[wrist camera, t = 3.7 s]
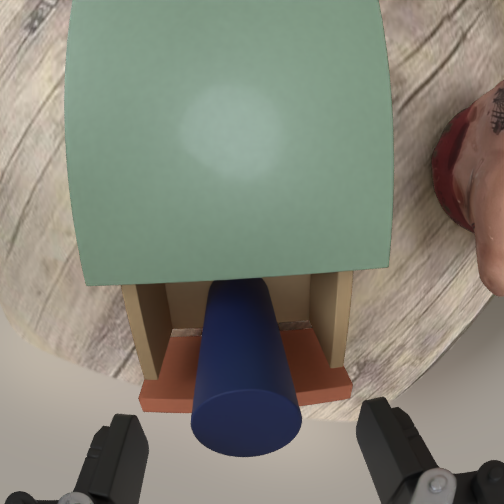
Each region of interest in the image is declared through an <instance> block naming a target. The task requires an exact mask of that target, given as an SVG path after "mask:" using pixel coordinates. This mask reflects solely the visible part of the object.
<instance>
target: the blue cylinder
mask: <svg viewBox="0 0 504 504" xmlns="http://www.w3.org/2000/svg"><path fill="white" fill-rule="evenodd" d="M301 423H302V415H301V411H300V407H299V404H298V400H297V396H296V392H295V388H294V384H293V381H292V377H291V373H290V369H289V365H288V361H287V358H286V354H285V350H284V346H283V342H282V339H281V335H280V331H279V327H278V323H277V320H276V316H275V312H274V308H273V304H272V301H271V297H270V293H269V289H268V287H267V285H266V283H265V281H264V280H263V279H262V278H246V279H230V280H214V281H213V282H212V284H211V286H210V288H209V292H208V297H207V304H206V311H205V317H204V324H203V331H202V338H201V345H200V352H199V360H198V367H197V375H196V382H195V390H194V398H193V407H192V415H191V428H192V431H193V434H194V435H195V437H196V438H197V439H198V441H199V442H200V443H202V444H203V445H204V446H206V447H207V448H209V449H211V450H213V451H215V452H218V453H221V454H224V455H228V456H235V457H253V456H260V455H264V454H268V453H271V452H274V451H276V450H278V449H280V448H282V447H284V446H285V445H287V444H288V443H290V442H291V441H292V440H293V439H294V438H295V436H296V435H297V434H298V432H299V430H300V428H301Z"/></svg>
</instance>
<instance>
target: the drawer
mask: <svg viewBox="0 0 504 504" xmlns="http://www.w3.org/2000/svg"><path fill="white" fill-rule="evenodd" d="M262 279H263V280H264V281H265V283H266V285H267V287H268V289H269V293H270V297H271V301H272V304H273V308H274V312H275V316H276V320H277V323H285V322H296V321H306V320H309V321H310V323H311V326H312V328H307V329H298V330H287V331H280V335H281V339H282V342H283V346H284V350H285V354H286V358H287V361H288V365H289V369H290V373H291V377H292V381H293V384H294V388H295V392H296V396H297V400H298V404H299V406H304V405H312V404H319V403H325V402H332V401H338V400H343V399H349V398H350V396H351V391H352V386H353V384H352V382H351V380H350V378H349V376H348V374H347V371H346V369H345V367H344V365H343V364H344V357H345V349H346V341H347V333H348V324H349V315H350V305H351V294H352V282H353V271H342V272H330V273H317V274H304V275H290V276H276V277H262ZM213 281H214V280H213ZM213 281H195V282H176V283H155V284H132V285H121V289H122V294H123V298H124V303H125V307H126V312H127V316H128V320H129V324H130V328H131V332H132V336H133V340H134V344H135V347H136V351H137V355H138V358H139V362H140V365H141V369H142V372H143V375H144V382H143V385H142V389H141V392H140V395H139V398H138V399H139V401H140V404H141V407H142V410H143V411H144V412H161V413H162V412H164V413H192V407H193V398H194V390H195V382H196V375H197V367H198V360H199V352H200V345H201V338H202V336H189V337H170V336H171V333H172V330H173V329H184V328H203V324H204V317H205V311H206V304H207V297H208V292H209V288H210V286H211V284H212V282H213Z"/></svg>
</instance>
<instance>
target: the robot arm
mask: <svg viewBox="0 0 504 504" xmlns="http://www.w3.org/2000/svg"><path fill="white" fill-rule="evenodd" d="M356 437H357V440H358V444H359V446H360V449H361V451H362V453H363V456H364V459H365V462H366V464H367V467H368V469H369V472H370V474H371V477H372V480H373V482H374V485H375V488H376V490H377V493H378V496H379V498H380V501H381V504H504V463H503V462H501V461H497V460H491V461H488V462H486V463H484V464H483V465H482V466H481V467H480V468H479V470H478V471H473V472H467V473H460V474H452V473H451V472H450V471H449V470H446V469H443V468H440V467H439V466H438V465H437V464H436V462H435V460H434V459H433V457H432V455H431V453H430V451H429V450H428V448H427V446H426V445H425V443H424V441H423V439H422V437H421V436H420V435H419V432H418V430H417V429H416V427H414V423H413V422H412V420H411V418H410V417H409V415H408V414H407V413H405V412H404V411H403V410H402V409H400V408H399V407H395V408H391V407H390V405H389V403H388V401H387V400H386V398H385V397H379V398H374V399H370V400H365V401H363V403H362V406H361V410H360V414H359V418H358V422H357V426H356ZM90 447H91V448H89V451H88V453H87V457H86V458H85V461H84V464H83V466H82V470H81V472H80V475H79V478H78V481H77V483H76V486H75V488H74V490H73V492H71V493H67V494H65V495H64V496H63V497H61V498H60V500H49V501H48V500H47V501H46V500H35V499H34V498H33V497H32V496H30V495H29V494H28V493H26V492H21V491H18V492H14V493H12V494H11V495H10V496H8V498H7V500H6V502H5V504H138V503H139V498H140V492H141V487H142V483H143V478H144V473H145V468H146V463H147V459H148V454H149V446H148V441H147V438H146V436H145V434H144V431H143V429H142V427H141V424H140V422H139V420H138V418H137V416H136V415H125V414H115V415H114V417H113V420H112V422H111V424H110V427H109V426H103V427H102V428H101V429H100V430H99V431H98V432H97V433H96V434H95V435H94V438H93V440H92V443H91V445H90Z"/></svg>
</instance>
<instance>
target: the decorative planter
mask: <svg viewBox="0 0 504 504" xmlns="http://www.w3.org/2000/svg"><path fill="white" fill-rule="evenodd" d="M432 177H433V184H434V190H435V193H436V196H437V198H438V200H439V202H440V204H441V206H442V208H443V209H444V210H445V212H446V213H447V214H448V215H449V216H450V218H451V219H452V220H453V221H454V222H455V223H457V224H458V225H460V226H461V227H463V228H465V229H466V230H468V231H470V232H472V233H475V241H476V254H477V262H478V269H479V275H480V278H481V281H482V282H483V284H484V285H485V286H486V287H487V288H488V290H489V291H490V292H492V293H493V294H494V295H496V296H504V80H503V81H501V82H500V83H499V84H497V85H496V86H495V88H493V89H492V90H490V91H489V92H487V93H486V94H484V95H483V96H482V97H481V98H479V99H478V100H476V101H475V102H474V103H473V104H472V105H471V106H470V107H468V108H466V109H464V110H463V111H461V112H460V113H458V114H457V115H456V116H455V117H454V118H453V119H452V120H451V121H450V122H449V123H448V125H447V126H446V128H445V129H444V131H443V133H442V136H441V138H440V140H439V142H438V144H437V146H436V148H435V149H434V152H433V155H432Z"/></svg>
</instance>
